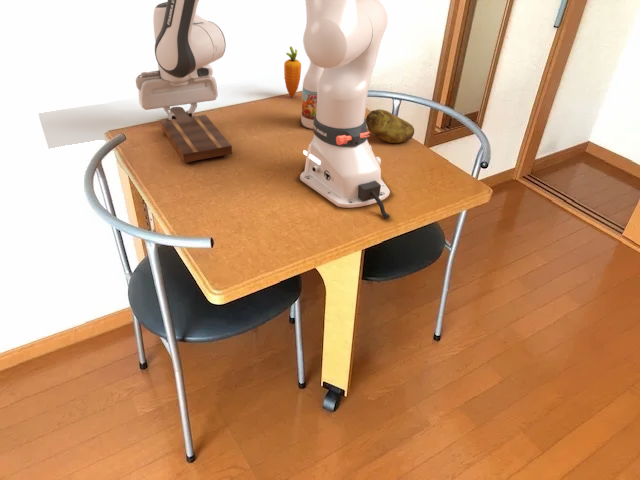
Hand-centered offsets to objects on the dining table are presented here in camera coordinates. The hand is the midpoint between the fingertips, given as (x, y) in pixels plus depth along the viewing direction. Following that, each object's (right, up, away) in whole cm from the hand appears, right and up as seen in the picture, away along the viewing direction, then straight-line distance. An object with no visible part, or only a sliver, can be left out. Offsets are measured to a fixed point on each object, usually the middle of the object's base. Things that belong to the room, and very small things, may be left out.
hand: (181, 119), depth 148 cm
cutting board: (+4, -6, -5) cm, 9 cm away
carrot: (+29, +11, +20) cm, 37 cm away
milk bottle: (+36, 0, +6) cm, 36 cm away
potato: (+56, -6, +1) cm, 56 cm away
